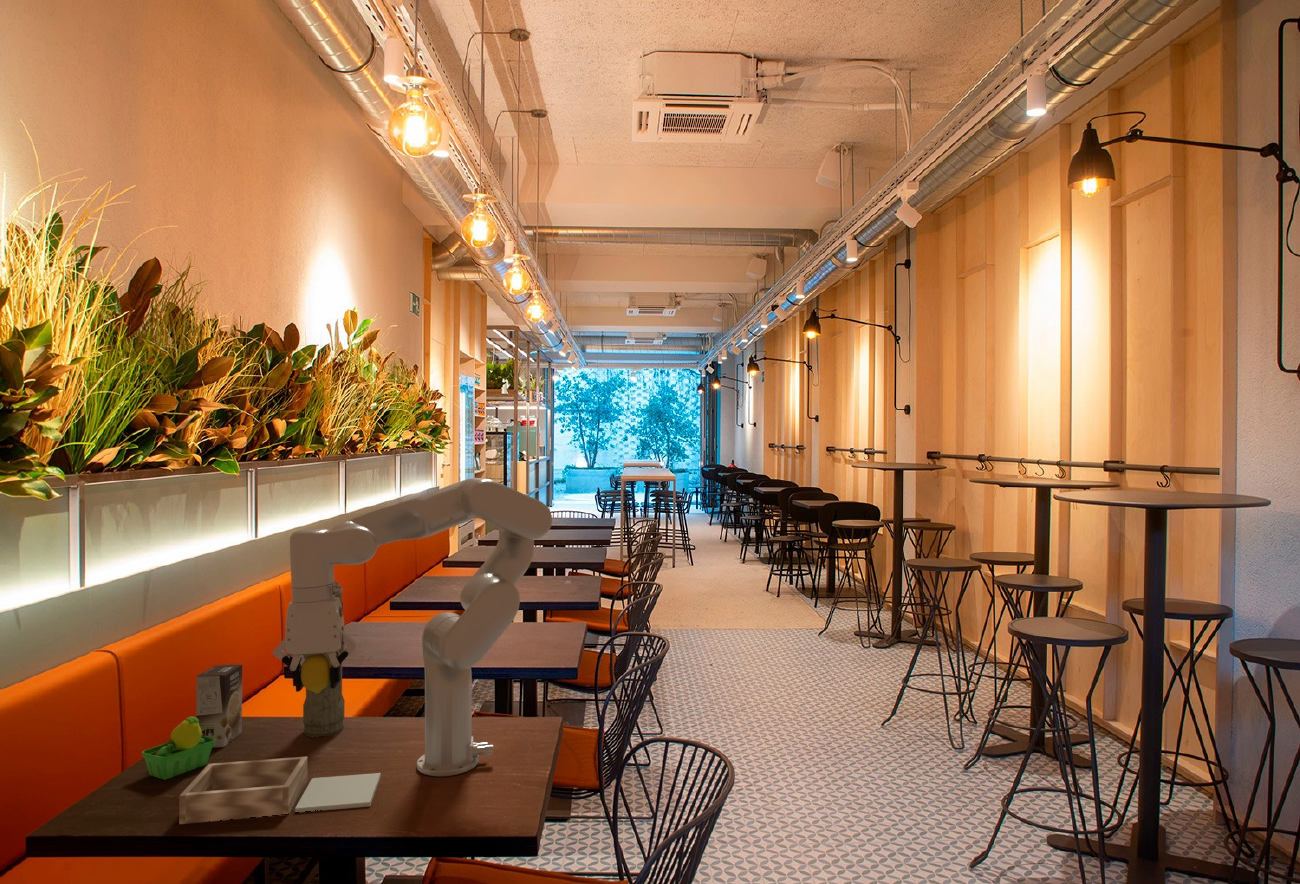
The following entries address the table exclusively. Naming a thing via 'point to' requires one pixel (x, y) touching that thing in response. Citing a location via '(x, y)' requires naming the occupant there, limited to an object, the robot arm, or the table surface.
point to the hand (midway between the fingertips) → (317, 686)
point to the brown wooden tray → (243, 790)
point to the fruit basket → (179, 751)
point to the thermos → (324, 705)
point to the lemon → (316, 672)
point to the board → (339, 792)
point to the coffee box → (220, 703)
